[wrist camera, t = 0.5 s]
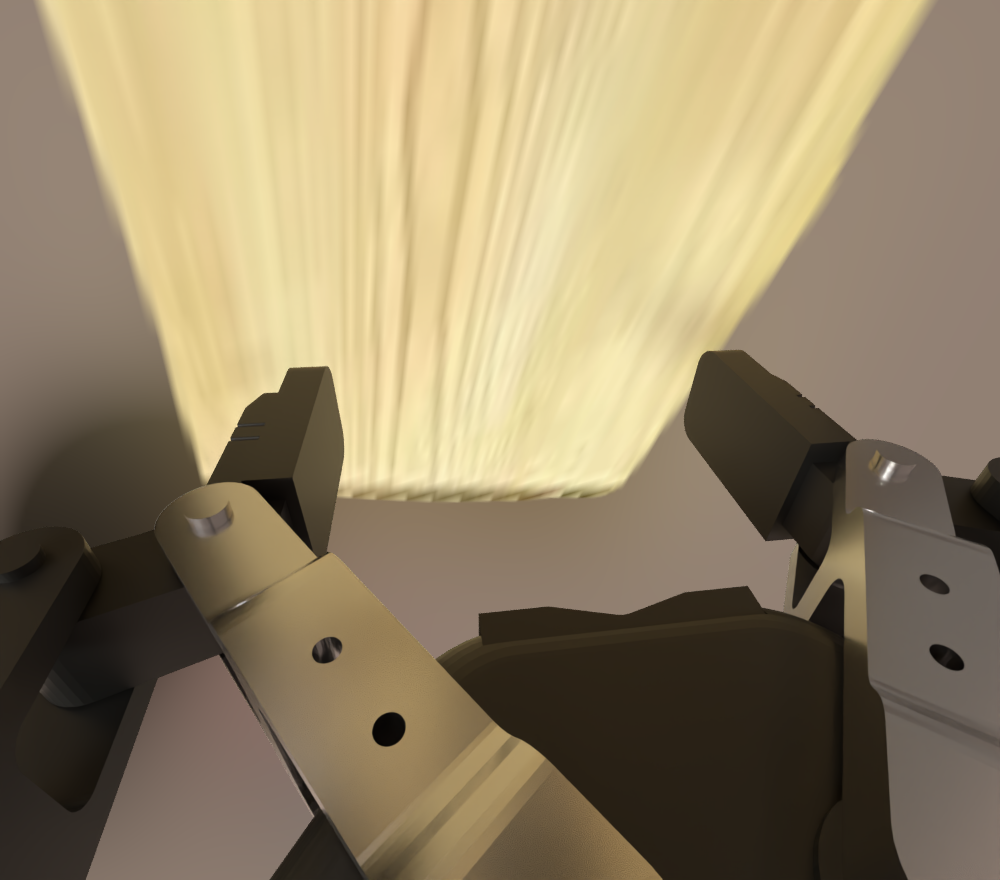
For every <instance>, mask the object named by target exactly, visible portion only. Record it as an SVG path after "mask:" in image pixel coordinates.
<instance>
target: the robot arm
mask: <svg viewBox="0 0 1000 880" xmlns="http://www.w3.org/2000/svg"><path fill="white" fill-rule="evenodd" d="M237 425H238V427H236V428H235V430H234V432H233V434H232V436H231V441H229V442H228V444H227V446H226V448H225V450H224V452H223V454H222V456H221V458H220V460H219V462H218V464H217V466H216V468H215V470H214V472H213V474H212V476H211V477H210V479H209V481H208V483H207V485H206V486H203V487H200V488H197V489H195V490H192V491H190V492H188V493H186V494H184V495H182V496H181V497H179V498H177V499H176V500H174V501H173V502H172V503H170V504H169V505H168V506H167V507H166V508H165V509H164V510H163V511H162V513H161V514H160V515H159V517H158V519H157V521H156V523H155V527H154V530H151V531H148V532H145V533H142V534H139V535H135V536H132V537H128V538H125V539H121V540H117V541H114V542H110V543H107V544H103V545H100V546H96V547H93V548H90V547H89V546H88V544H87V543H86V541H85V539H84V538H83V536H82V535H81V534H80V533H79V532H78V531H76V530H74V529H72V528H67V527H58V526H54V527H43V528H37V529H33V530H29V531H25V532H22V533H19V534H16V535H13V536H11V537H8V538H6V539H3V540H1V541H0V880H86V877H87V874H88V872H89V869H90V866H91V863H92V860H93V858H94V855H95V852H96V849H97V846H98V843H99V841H100V838H101V835H102V833H103V830H104V827H105V824H106V821H107V818H108V816H109V813H110V810H111V807H112V804H113V802H114V799H115V796H116V793H117V791H118V788H119V785H120V782H121V779H122V777H123V774H124V771H125V768H126V766H127V763H128V760H129V757H130V754H131V751H132V749H133V746H134V743H135V740H136V737H137V735H138V732H139V729H140V726H141V723H142V721H143V717H144V715H145V712H146V710H147V707H148V704H149V701H150V698H151V696H152V693H153V690H154V687H155V684H156V682H157V679H158V678H159V677H161V676H164V675H166V674H169V673H172V672H174V671H177V670H180V669H182V668H185V667H187V666H190V665H193V664H195V663H198V662H200V661H203V660H206V659H208V658H211V657H214V656H216V655H219V657H220V658H221V660H222V662H223V663H224V665H225V667H226V668H227V670H228V672H229V673H230V675H231V677H232V678H233V680H234V682H235V683H236V685H237V687H238V689H239V690H240V692H241V694H242V695H243V697H244V699H245V700H246V702H247V704H248V706H249V707H250V709H251V710H252V712H253V714H254V716H255V717H256V719H257V721H258V722H259V724H260V726H261V727H262V729H263V731H264V733H265V734H266V736H267V737H268V739H269V741H270V743H271V745H272V746H273V748H274V750H275V752H276V753H277V755H278V757H279V759H280V761H281V762H282V764H283V766H284V768H285V770H286V771H287V773H288V775H289V777H290V778H291V780H292V782H293V784H294V785H295V787H296V788H297V790H298V792H299V794H300V795H301V797H302V799H303V801H304V802H305V804H306V806H307V807H308V809H309V811H310V812H311V814H312V816H313V817H314V818H313V819H312V821H311V822H310V823H309V825H308V826H307V828H306V829H305V830H304V832H303V833H302V835H301V836H300V838H299V839H298V841H297V842H296V843H295V845H294V846H293V848H292V849H291V850H290V852H289V853H288V855H287V856H286V857H285V859H284V860H283V862H282V863H281V864H280V866H279V867H278V869H277V870H276V872H275V873H274V874H273V876H272V877H271V879H270V880H1000V458H995V459H992V460H991V461H990V462H989V463H988V464H987V466H986V467H985V469H984V470H983V471H982V473H981V474H980V475H979V476H978V478H977V479H976V480H970V479H962V478H954V477H947V476H941V473H940V471H939V470H938V469H937V467H936V466H935V465H934V464H933V463H931V462H930V461H929V460H928V459H926V458H925V457H923V456H922V455H920V454H918V453H916V452H914V451H912V450H910V449H908V448H905V447H903V446H900V445H897V444H893V443H890V442H885V441H881V440H873V439H862V440H856V439H855V438H853V437H852V436H851V435H850V434H849V433H848V432H846V431H845V430H844V429H843V428H842V427H841V426H839V425H838V424H837V423H836V422H834V421H833V420H832V419H831V418H830V417H828V416H827V415H826V414H825V413H824V412H822V411H821V410H820V409H819V408H815V405H814V404H813V403H812V402H810V401H809V400H808V399H807V398H806V397H802V394H800V392H798V391H797V390H796V389H795V388H794V387H792V386H791V385H790V384H789V383H787V382H786V381H784V380H782V379H780V378H778V377H776V376H774V375H772V374H770V373H769V372H768V371H767V370H766V369H765V368H763V367H762V366H761V365H760V364H759V363H757V362H756V361H755V360H754V359H753V358H751V357H750V356H749V355H748V354H747V353H746V352H744V351H742V350H725V351H707V352H705V353H704V354H703V355H702V356H701V358H700V360H699V363H698V366H697V370H696V373H695V377H694V381H693V384H692V388H691V391H690V395H689V399H688V402H687V406H686V409H685V414H684V426H685V431H686V434H687V436H688V438H689V440H690V441H691V442H692V443H693V445H694V446H695V448H696V449H697V450H698V452H699V453H700V454H701V456H702V457H703V458H704V460H705V461H706V462H707V464H708V465H709V466H710V468H711V469H712V470H713V472H714V473H715V474H716V476H717V477H718V478H719V480H720V481H721V482H722V484H723V485H724V486H725V488H726V489H727V490H728V492H729V493H730V494H731V496H732V497H733V498H734V499H735V501H736V502H737V503H738V505H739V506H740V508H741V509H742V510H743V512H744V513H745V514H746V516H747V517H748V518H749V520H750V521H751V522H752V524H753V525H754V526H755V528H756V529H757V530H758V532H759V533H760V534H761V535H762V537H763V538H764V539H765V541H773V540H784V539H794V540H795V541H796V542H797V543H796V546H795V547H794V549H793V551H792V553H791V556H790V562H789V570H788V577H787V585H786V593H785V601H784V609H783V612H780V611H775V610H771V609H766V608H762V607H761V606H760V604H759V603H758V602H757V600H756V598H755V597H754V595H753V593H752V592H751V590H750V589H749V587H748V586H743V587H733V588H723V589H714V590H704V591H694V592H685V593H682V594H680V595H677V596H674V597H672V598H669V599H667V600H664V601H662V602H659V603H656V604H654V605H651V606H648V607H646V608H643V609H640V610H638V611H635V612H633V613H630V614H626V615H614V614H605V613H597V612H588V611H581V610H572V609H563V608H556V607H539V608H530V609H520V610H511V611H502V612H491V613H481V614H479V636H478V637H476V638H473V639H470V640H468V641H465V642H463V643H462V644H460V645H458V646H456V647H454V648H452V649H450V650H448V651H447V652H446V653H444V654H442V655H441V656H439V657H438V658H436V659H434V658H433V657H432V656H431V655H430V654H429V652H428V651H426V649H425V648H424V647H423V646H422V645H421V644H420V643H419V642H418V641H417V640H416V639H415V638H414V637H413V636H412V635H411V634H410V633H409V631H408V630H407V629H406V628H405V627H404V626H403V625H402V624H401V623H400V622H399V621H398V620H397V619H396V618H395V617H394V616H393V615H392V614H391V613H390V611H389V610H388V609H387V608H386V607H385V606H384V605H383V604H382V603H381V602H380V601H379V600H378V599H377V598H376V597H375V596H374V595H373V593H372V592H371V591H370V590H369V589H368V588H367V587H366V586H365V585H364V584H363V583H362V582H361V581H360V580H359V579H358V578H357V577H356V576H355V575H354V573H352V571H350V569H349V568H348V567H347V566H346V565H345V564H344V563H343V562H342V561H341V560H340V559H339V558H338V557H337V556H335V555H334V554H333V553H331V552H327V546H328V541H329V536H330V531H331V524H332V520H333V514H334V509H335V503H336V498H337V492H338V487H339V481H340V476H341V470H342V465H343V459H344V438H343V430H342V425H341V420H340V414H339V409H338V404H337V399H336V394H335V388H334V383H333V378H332V374H331V371H330V369H329V367H328V366H324V367H300V368H289V369H288V371H287V373H286V376H285V378H284V380H283V383H282V385H281V387H280V390H279V392H278V393H264V394H262V395H261V396H260V397H259V398H257V399H256V400H255V401H254V402H252V403H251V404H250V405H249V406H247V407H246V408H245V410H244V412H243V414H242V416H241V418H240V420H239V422H238V424H237Z"/></svg>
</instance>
